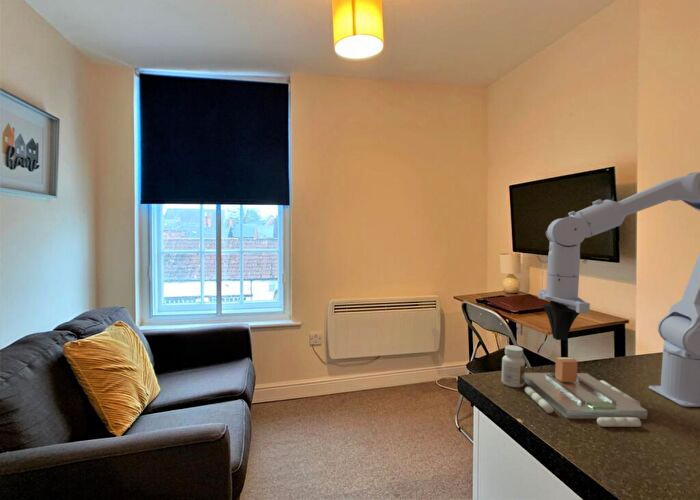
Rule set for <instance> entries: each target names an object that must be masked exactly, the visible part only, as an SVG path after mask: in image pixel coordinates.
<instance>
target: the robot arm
mask: <svg viewBox="0 0 700 500" xmlns="http://www.w3.org/2000/svg"><path fill="white" fill-rule="evenodd" d="M668 201H673V202H676V201H678V202H679V201H681V202H683V203H685V204H686V205H688V206H690V207H692V208H694V209H695V210H697V211H699V212H700V171H695V172H691V173H690V172H689V173H687V174H686V175H682V176H677V177H674V178H671V179H667V180H665V181H662V182H659V183H657V184H655V185H653V186H651V187H649V188H646V189H644V190H641V191H639V192H638V193H635V194H633V195H631V196H629V197H626V198H623V199H621V200H619V201H614V200H611V199H604V200H602V199H601V198H600V199H597V200H595V201H592V202H591V203H592V205H589V206H588V207H585V208H583V209H581V210H577V211H575V210H573V211H570V212H568V213H567V215H568V216H565V217H563V218H557V219H554V220H553V221H552V222H550V224H548V227H547V229H546V230H545V236H546V238H547V240H548V241H549V245H548V250H549V251H548V257H547V276H546V277H547V278H546V289H539V290H538V295H537V296H538V297H537V298H538V299H540V300H545V301H548V302H549V303H548V304H547V303H545V304H543V305H542V308H543V310H544V311H545V314H546V316H547V318H548V322H549V324H550V331H551V334H552V338H553V339H555V340H557V341H567V338H568V336H569V333H570V330H571V328H572V325H573V323H574V322H575V319H577V317H578V316H579V315H580V314H590V309H591V306H590V305H591V303H589V302H586V301H585V300H583V299H582V298H580V297H579V284H580V283H579V282H580V280H579V279H580V264H581V263H580V262H581V243H583V241H585V239H587V238H591V237H593V236H596V235H598V234H601V233H605V232H607V231H609V230H611V229H615V228H616V227H620V226H621V225H622V224H623V222H624V220H625V219H626V217H627V216H630V215H632V214H635V213H637V212H640V211H643V210H647V209H649V208H651V207H652V208H653V207H654V206H656V205H659V204H662V203H666V202H668ZM657 333H658V334H659V336H660V338H661V339H662V340H663V343H664V344H663V346H662V349H663V350H662V359H661V360H662V361H661V362H662V363H661V373H660V374H661V376H660V385H649V386H648V389H650V390H651V391H653V392H655V393H657V394H659V395H661V396H663V397H664V398H667V399H668V400H670V401H672V402H674V403H675V404H677V405H679V406H682V407H687V408H688V407H689V408H691V407H693V408H694V407H696V408H698V407H699V408H700V251H699V252H698V255H697V258H696V260H695V263H694V266H693V268H692V271H691V274H690V276H689V278H688V281H687V284H686V287H685V289H684V292H683V294H682V297H681V299H680V300H679V301H678V302H676V303H674V304H673V305H671V307H670V308H669V310H668V313H667V314H666V315H665V316H664V317H663V318H661V319H660V321H659V322H658V324H657Z"/></svg>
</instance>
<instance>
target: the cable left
mask: <svg viewBox="0 0 700 500" xmlns="http://www.w3.org/2000/svg"><path fill="white" fill-rule="evenodd" d="M596 423H597V424H598V425H599V426H600V427H603V428H604V427H606V428H607V427H609V428H610V427H611V428H612V427H615V428H616V427H617V428H622V427H623V428H624V427H625V428H627V427H628V428H631V427H633V428H634V427H635V428H639V427H641V426H642V421H641V419H638V418H632V417H599V418H598V419H596Z"/></svg>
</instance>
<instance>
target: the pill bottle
mask: <svg viewBox="0 0 700 500" xmlns="http://www.w3.org/2000/svg"><path fill="white" fill-rule="evenodd" d="M504 354H505V355H504V356H503V357H502V358H501V378H500V379H501V380H500V381H501V383H502V384H504V386H506V387H510V388H521V387H524V386H525V382H524V375H525V373H526V361H525V359H524V358H523V355H524V348H522V347H521V346H518V345H513V344H512V345H510V344H508V345H505V346H504Z"/></svg>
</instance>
